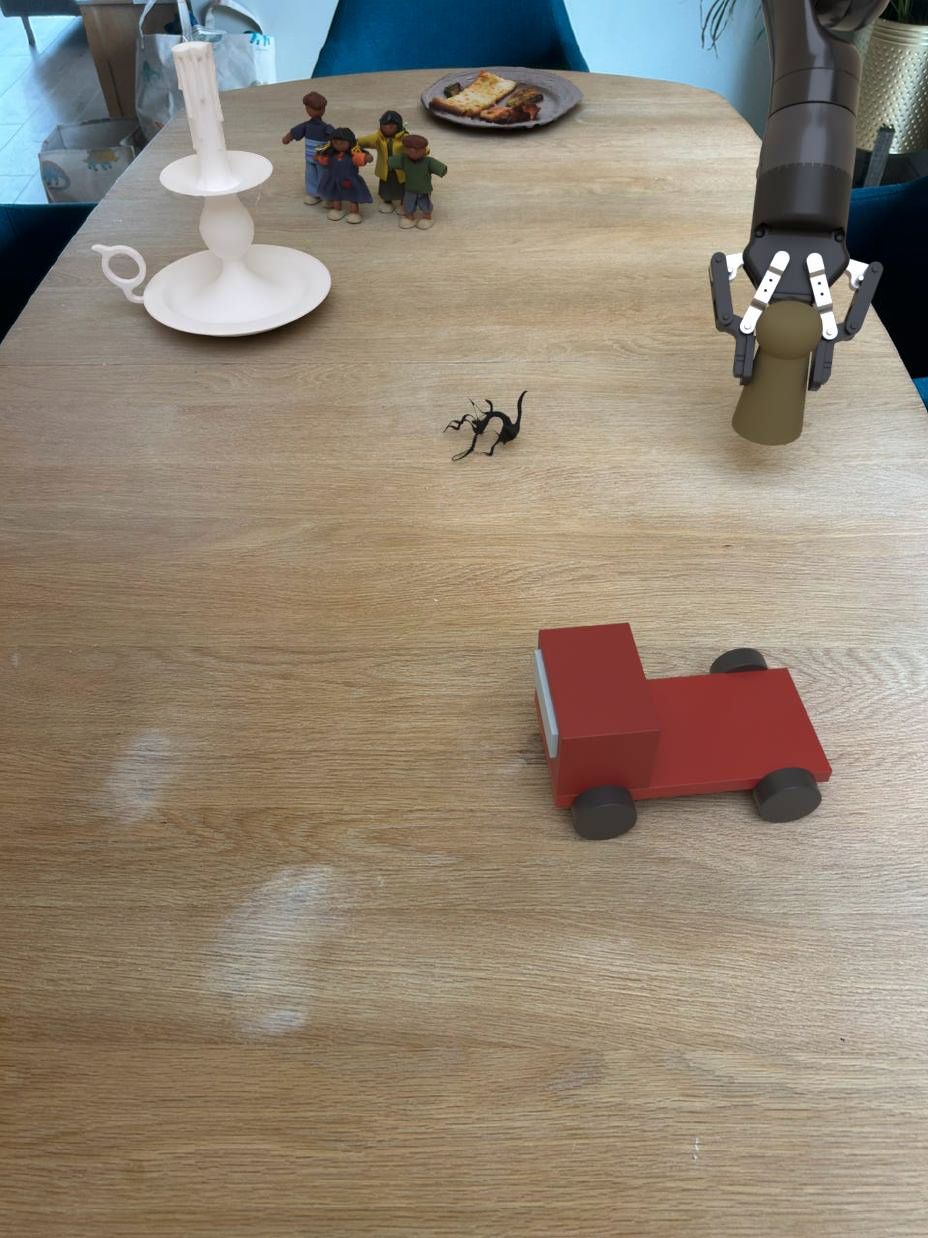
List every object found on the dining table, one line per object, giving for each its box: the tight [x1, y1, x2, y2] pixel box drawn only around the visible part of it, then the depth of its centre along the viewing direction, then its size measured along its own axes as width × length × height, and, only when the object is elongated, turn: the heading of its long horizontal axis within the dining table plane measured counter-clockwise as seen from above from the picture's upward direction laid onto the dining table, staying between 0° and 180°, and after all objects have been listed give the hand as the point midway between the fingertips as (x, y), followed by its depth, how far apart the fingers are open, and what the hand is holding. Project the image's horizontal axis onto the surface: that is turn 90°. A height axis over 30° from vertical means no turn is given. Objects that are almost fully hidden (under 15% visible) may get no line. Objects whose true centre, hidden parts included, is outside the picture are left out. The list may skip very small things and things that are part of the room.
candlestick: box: [91, 35, 332, 337], centre depth 103 cm, size 21×25×28 cm
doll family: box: [281, 90, 448, 230], centre depth 127 cm, size 23×9×13 cm, turn 80°
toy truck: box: [532, 622, 833, 841], centre depth 66 cm, size 18×12×9 cm, turn 96°
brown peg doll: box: [731, 301, 823, 447], centre depth 83 cm, size 6×6×11 cm
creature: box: [442, 390, 528, 462], centre depth 93 cm, size 8×5×8 cm
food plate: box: [420, 66, 584, 131], centre depth 155 cm, size 25×23×4 cm
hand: (779, 385), depth 82 cm, fingers closed on brown peg doll, 5 cm apart
